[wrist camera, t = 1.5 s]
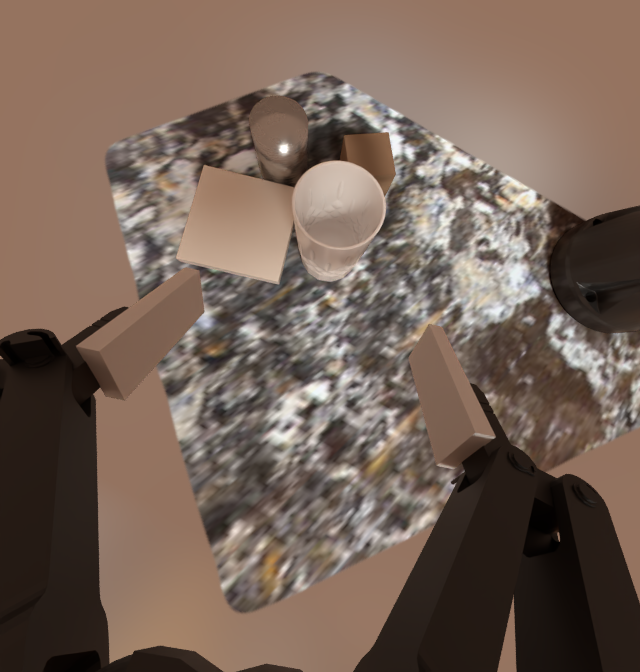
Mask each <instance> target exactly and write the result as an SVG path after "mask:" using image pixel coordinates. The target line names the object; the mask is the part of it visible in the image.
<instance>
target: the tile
mask: <svg viewBox="0 0 640 672" xmlns="http://www.w3.org/2000/svg"><path fill="white" fill-rule="evenodd" d="M294 188H295V187H291V186H287V185H283V184H279V183H275V182H271V181H267V180H263V179H258V178H254V177H250V176H246V175H242V174H238V173H234V172H230V171H226V170H222V169H218V168H214V167H210V166H206V165H204V167H203V170H202V173H201V177H200V180H199V183H198V187H197V190H196V193H195V196H194V200H193V203H192V206H191V210H190V213H189V216H188V220H187V223H186V226H185V230H184V233H183V236H182V240H181V243H180V246H179V250H178V253H177V256H176V258H177V259H178V260H179V261H180V262H184V263H189V264H193V265H197V266H202V267H206V268H210V269H214V270H219V271H223V272H227V273H232V274H236V275H240V276H245V277H249V278H253V279H257V280H262V281H266V282H270V283H275V284H279V283H280V279H281V275H282V271H283V267H284V263H285V259H286V255H287V251H288V247H289V243H290V239H291V235H292V231H293V227H294V218H293V211H292V195H293V191H294Z"/></svg>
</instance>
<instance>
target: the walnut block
mask: <svg viewBox="0 0 640 672" xmlns="http://www.w3.org/2000/svg"><path fill="white" fill-rule="evenodd" d="M340 161H346V162H350V163H353V164H356V165H358V166H360V167H362V168H364V169H365V170H367V171H368V172H369V173H370V174H371V175H372V176H373V177H374V178H375V179H376V180H377V182H378V183H379V185H380V187H381V188H382V191H383V193H384V197H385V195H386V193H387V191H388V189H389V187H390V185H391V183H392V181H393V179H394V177H395V175H396V173H395V167H394V161H393V156H392V150H391V144H390V138H389V133H388V132H386V133H371V134H355V135H344V138H343V144H342V150H341V156H340Z"/></svg>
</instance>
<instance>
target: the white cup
mask: <svg viewBox="0 0 640 672" xmlns="http://www.w3.org/2000/svg"><path fill="white" fill-rule="evenodd" d="M292 211H293V218H294V224H295V231H296V237H297V242H298V247H299V251H300V254H301V259H302V263H303V265H304V267H305V268H306V270H307V272H308V273H309V274H311V275H312V276H314V277H315V278H316V279H318V280H323V281H329V282H331V281H335V280H339V279H342V278H343V277H344V276H345V275H347V274H348V273H349V272H350V271H351V270H352V268H353V267H354V266H355V264H356V263H357V262H358V261H359V259H360V258H361V256H362V255H363V254H364V252H365V251H366V249H367V248H368V246H369V244H370V243H371V241H372V240H373V238H374V237H375V235H376V234H377V232H378V231H379V229H380V228H381V226H382V224H383V221H384V218H385V212H386V202H385V197H384V193H383V191H382V188H381V187H380V185H379V183H378V182H377V180H376V179H375V178H374V177H373V176H372V175H371V174H370V173H369V172H368V171H367V170H365V169H364V168H362V167H360V166H358V165H356V164H353V163H350V162H346V161H327V162H323V163H320V164H317V165H315V166H313V167H312V168H310V169H309V170H307V171H306V172H305V173H304V174H303V175H302V176H301V178H300V179H299V180H298V182H297V184H296V186H295V188H294V191H293V195H292Z"/></svg>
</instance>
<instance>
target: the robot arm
mask: <svg viewBox="0 0 640 672" xmlns="http://www.w3.org/2000/svg"><path fill="white" fill-rule="evenodd" d="M551 280H552V284H553V288H554V291H555V293H556V295H557V297H558V299H559V301H560V303H561V304H562V306H563V307H564V308H565V310H566V311H567V312H568V313H569V314H570V315H571V316H572V317H573V318H574V319H575V320H577V321H578V322H579V323H581V324H583V325H584V326H586V327H588V328H590V329H593V330H596V331H599V332H604V333H622V332H633V331H640V206H636V207H631V208H627V209H623V210H618V211H614V212H609V213H605V214H602V215H599V216H596V217H594V218H591V219H589V220H587V221H585V222H583V223H581V224H579V225H577V226H575V227H573V228H572V229H570V230H569V231H568V232H566V233H565V234H564V235H563V236H562V237H561V239H560V240H559V241H558V243H557V245H556V247H555V249H554V252H553V255H552V259H551ZM203 313H204V304H203V296H202V288H201V280H200V272H199V270H195V269H190V268H186V267H185V268H184V269H182V270H181V271H179V272H178V273H177V274H175V275H174V276H173V277H171V278H170V279H168V280H167V281H166V282H164V283H163V284H161V285H160V286H159V287H157V288H156V289H154V290H153V291H152V292H150V293H149V294H148V295H146V296H145V297H143V298H142V299H141V300H139V301H138V302H136V303H135V304H134V305H132V306H131V307H129V308H128V307H122V308H119V309H116V310H114V311H111V312H109V313H108V314H107V315H105V316H104V317H102V318H101V319H100V320H98V321H97V322H95V323H93V324H92V326H89V327H87V328H86V329H84V330H83V331H82V332H80V333H79V334H77V335H76V336H74V337H73V338H71V339H70V340H68V341H67V342H65V343H64V344H63V345H61V344H60V342H59V341H58V339H57V337H56V336H55V334H54V333H53V332H51V331H49V330H45V329H28V330H24V331H20V332H16V333H13V334H11V335H8V336H6V337H4V338H3V339H1V340H0V356H1V357H2V358H3V359H0V672H223V671H222V670H220V669H219V668H218V667H216V666H215V665H213V664H212V663H210V662H209V661H208V660H206V659H205V658H203V657H202V656H201V655H199V654H198V653H196V652H194V651H189V650H183V649H177V648H171V647H165V646H156V647H151V648H147V649H141V650H137V651H134V652H133V654H132V655H128V656H126V657H124V658H121V659H118V660H116V661H114V662H112V663H110V664H109V637H108V623H107V618H106V614H105V611H104V609H103V606H102V604H101V600H100V588H99V541H98V492H97V447H96V446H97V444H96V400H95V397H94V395H93V393H95V392H96V391H97V390H98V389H99V388H101V389H102V391H103V392H104V395H105V396H106V397H111V398H116V399H121V400H126V399H127V397H128V396H129V395H130V394H131V393H132V392H133V391H134V390H135V389H136V387H137V386H138V385H139V384H140V383H141V382H142V381H143V380H144V378H145V377H146V376H147V375H148V374H149V373H150V372H151V371H152V370H153V369H154V367H155V366H156V365H157V364H158V363H159V362H160V361H161V360H162V359H163V357H164V356H165V355H166V354H167V353H168V352H169V351H170V350H171V349H172V347H173V346H174V345H175V344H176V343H177V342H178V341H179V340H180V339H181V337H182V336H183V335H184V334H185V333H186V332H187V331H188V330H189V329H190V327H191V326H192V325H193V324H194V323H195V322H196V321H197V320H198V319H199V317H200V316H201V315H202V314H203ZM409 362H410V366H411V370H412V373H413V377H414V381H415V385H416V389H417V393H418V396H419V400H420V404H421V408H422V412H423V416H424V419H425V423H426V427H427V431H428V435H429V439H430V442H431V446H432V450H433V454H434V458H435V462H436V465H437V466H441V467H446V468H451V469H455V468H456V467H457V466H459V465H460V464H461V463H462V464H463V467H464V470H465V472H464V473H462V474H461V475H459V476H458V477H457V478H455V479H454V480H453V481H452V482H451V483H452V484H455V483H456V482H457V483H456V485H455V487H454V489H453V491H452V493H451V495H450V497H449V499H448V501H447V503H446V505H445V507H444V509H443V511H442V513H441V515H440V517H439V519H438V521H437V522H436V524H435V526H434V528H433V530H432V532H431V534H430V536H429V538H428V540H427V542H426V544H425V546H424V548H423V550H422V552H421V554H420V556H419V558H418V560H417V562H416V564H415V566H414V568H413V570H412V572H411V573H410V576H409V577H408V579H407V581H406V583H405V585H404V587H403V589H402V591H401V593H400V595H399V597H398V599H397V601H396V603H395V605H394V607H393V609H392V611H391V613H390V615H389V617H388V619H387V621H386V622H385V624H384V626H383V628H382V630H381V632H380V634H379V636H378V639H377V640H376V642H375V644H374V646H373V647H372V648H371V650H370V651H369V652H368V653H367V654H366V655H365V656H364V657H363V658H362V659H361V660H360V662H359V664H358V665H357V666H356V668H355V670H354V671H353V672H497V670H498V665H499V660H500V656H501V651H502V646H503V642H504V637H505V632H506V627H507V623H508V618H509V614H510V609H511V604H512V600H513V595H514V613H515V638H516V639H515V641H516V668H517V672H640V603H639V600H638V597H637V594H636V591H635V588H634V585H633V582H632V579H631V576H630V573H629V570H628V567H627V564H626V562H625V558H624V555H623V552H622V549H621V547H620V543H619V540H618V537H617V534H616V532H615V528H614V525H613V522H612V520H611V516H610V513H609V510H608V508H607V506H606V504H605V502H604V500H603V499H602V497H601V496H600V495H599V494H598V492H597V491H596V490H595V489H594V488H593V487H592V486H590V485H589V484H588V483H586V482H585V481H584V480H582V479H581V478H579V477H577V476H574V475H571V474H565V475H563V476H561V477H559V478H555V477H553V476H551V475H549V474H547V473H545V472H543V471H541V470H539V469H537V467H536V465H535V464H534V462H533V461H532V460H531V459H530V457H529V456H528V455H527V454H525V453H524V452H523V451H522V450H520V449H519V448H517V447H515V446H513V445H511V444H510V442H509V440H508V438H507V436H506V434H505V433H504V431H503V429H502V427H501V425H500V423H499V421H498V419H497V417H496V416H495V414H493V410H492V408H491V406H489V402H488V400H487V398H486V397H485V395H484V393H483V392H482V391H481V390H480V389H479V388H478V387H477V386H476V385H475V384H471V383H469V381H468V379H467V377H466V375H465V373H464V371H463V369H462V367H461V365H460V363H459V361H458V359H457V357H456V354H455V352H454V350H453V348H452V346H451V344H450V342H449V340H448V338H447V336H446V334H445V332H444V330H443V328H442V327H440V326H436V325H431V324H429V325H428V327H427V328H426V330H425V332H424V333H423V335H422V337H421V338H420V340H419V342H418V343H417V345H416V346H415V348H414V350H413V351H412V353H411V355H410V356H409ZM557 532H559V534H560V542H559V540H558V536H557ZM238 672H303V671H301V670H300V669H294V668H288V667H283V666H277V665H270V664H264V665H260V666H256V667H253V668H249V669H245V670H242V671H238Z"/></svg>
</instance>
